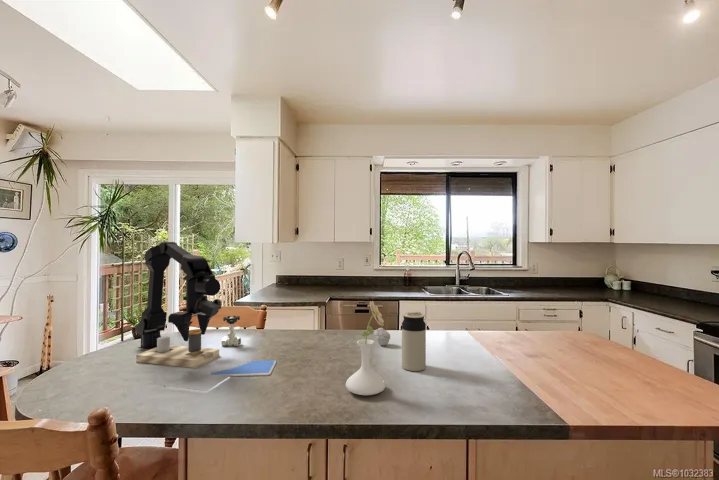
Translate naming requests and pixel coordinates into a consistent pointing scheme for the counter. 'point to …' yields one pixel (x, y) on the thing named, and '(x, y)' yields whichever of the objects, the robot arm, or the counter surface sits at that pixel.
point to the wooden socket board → (178, 356)
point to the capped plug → (194, 340)
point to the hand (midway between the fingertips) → (194, 337)
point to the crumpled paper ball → (382, 336)
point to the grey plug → (163, 344)
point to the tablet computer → (250, 369)
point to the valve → (231, 333)
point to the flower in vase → (367, 364)
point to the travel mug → (413, 341)
